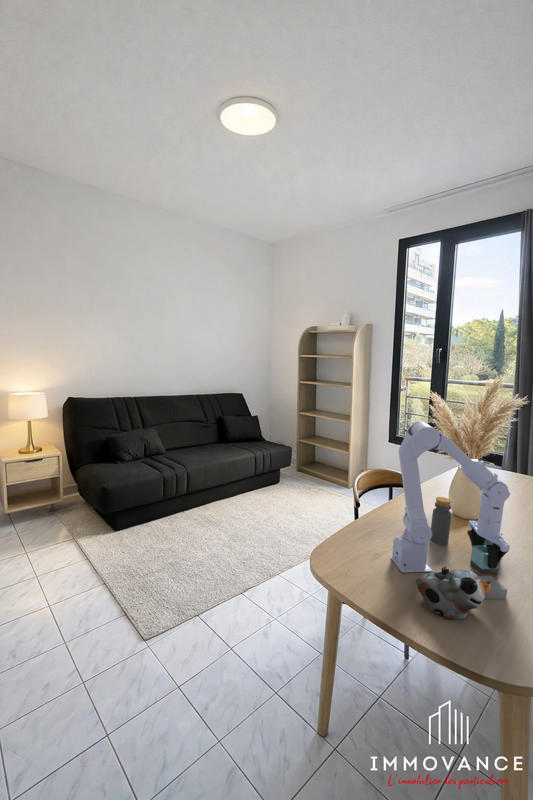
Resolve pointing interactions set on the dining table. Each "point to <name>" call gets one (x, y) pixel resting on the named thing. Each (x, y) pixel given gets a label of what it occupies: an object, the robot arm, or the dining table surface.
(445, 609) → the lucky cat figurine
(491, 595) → the block
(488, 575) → the peg board
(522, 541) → the dining table surface
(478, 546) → the sleeve
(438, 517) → the bottle
